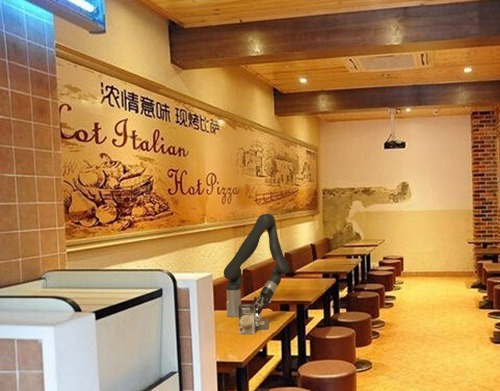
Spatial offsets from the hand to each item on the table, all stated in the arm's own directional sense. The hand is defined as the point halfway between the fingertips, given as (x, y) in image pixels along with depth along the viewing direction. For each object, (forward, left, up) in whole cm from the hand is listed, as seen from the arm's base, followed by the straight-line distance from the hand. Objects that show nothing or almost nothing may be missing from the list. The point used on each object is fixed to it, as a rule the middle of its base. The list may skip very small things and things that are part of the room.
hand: (255, 312), depth 351 cm
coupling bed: (+1, +1, -8) cm, 8 cm away
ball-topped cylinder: (+1, +1, -5) cm, 6 cm away
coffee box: (-4, -18, -8) cm, 20 cm away
